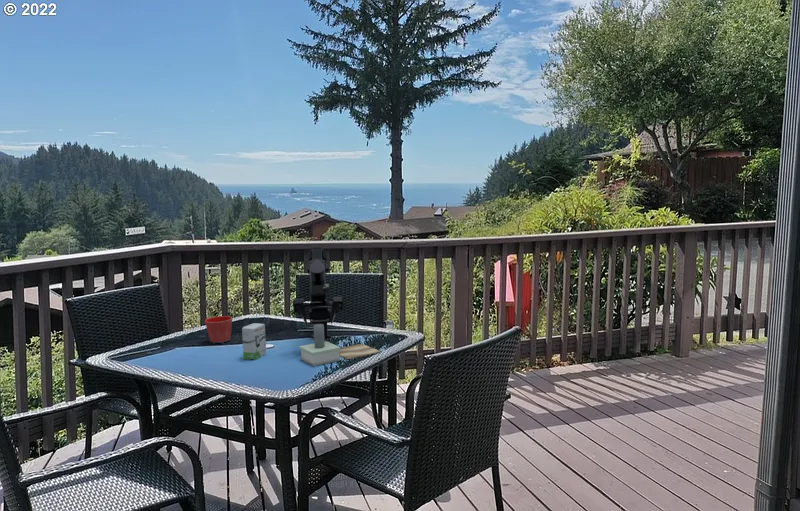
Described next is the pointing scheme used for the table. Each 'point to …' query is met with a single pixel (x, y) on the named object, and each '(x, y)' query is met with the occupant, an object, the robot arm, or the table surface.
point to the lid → (319, 343)
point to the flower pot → (219, 328)
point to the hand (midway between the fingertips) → (318, 323)
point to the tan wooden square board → (357, 351)
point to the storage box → (320, 358)
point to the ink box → (254, 341)
